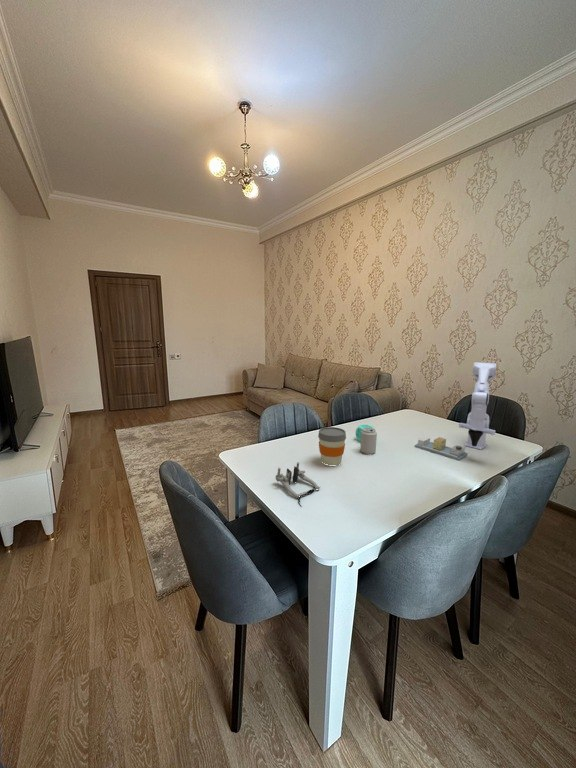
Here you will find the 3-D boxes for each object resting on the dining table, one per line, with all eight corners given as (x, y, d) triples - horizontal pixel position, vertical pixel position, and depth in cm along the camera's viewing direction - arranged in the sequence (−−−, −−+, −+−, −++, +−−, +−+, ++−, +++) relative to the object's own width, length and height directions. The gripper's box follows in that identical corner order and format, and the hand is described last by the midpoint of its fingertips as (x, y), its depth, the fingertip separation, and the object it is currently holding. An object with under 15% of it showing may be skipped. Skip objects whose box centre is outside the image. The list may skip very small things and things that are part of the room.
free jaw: (455, 450, 154) (456, 443, 154) (464, 453, 151) (465, 446, 151) (449, 454, 150) (450, 447, 149) (458, 457, 147) (459, 449, 146)
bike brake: (271, 481, 124) (301, 512, 108) (272, 467, 122) (303, 496, 106) (298, 473, 132) (329, 501, 116) (300, 459, 130) (332, 485, 114)
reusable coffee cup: (334, 471, 135) (336, 438, 132) (312, 462, 143) (312, 431, 140) (350, 461, 144) (351, 431, 141) (327, 454, 152) (328, 425, 149)
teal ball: (364, 444, 165) (364, 430, 164) (355, 439, 172) (355, 425, 171) (376, 442, 168) (376, 428, 167) (366, 437, 176) (367, 423, 174)
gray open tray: (423, 442, 168) (424, 435, 167) (467, 455, 152) (468, 447, 151) (414, 446, 162) (415, 439, 161) (459, 460, 145) (460, 452, 145)
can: (376, 455, 151) (377, 432, 149) (360, 454, 152) (361, 431, 150) (375, 449, 158) (376, 427, 156) (360, 448, 160) (361, 426, 157)
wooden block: (438, 446, 160) (439, 437, 159) (445, 448, 157) (446, 439, 156) (432, 449, 156) (433, 439, 155) (440, 451, 154) (441, 441, 153)
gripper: (457, 415, 144) (454, 443, 147) (493, 423, 134) (489, 452, 136) (463, 413, 149) (460, 439, 151) (498, 419, 138) (494, 448, 141)
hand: (474, 445), depth 144 cm, fingers closed
